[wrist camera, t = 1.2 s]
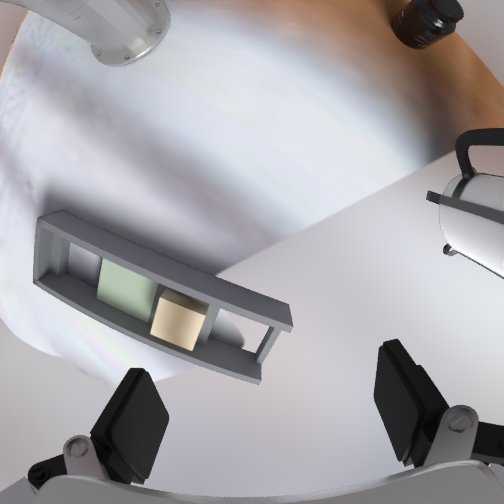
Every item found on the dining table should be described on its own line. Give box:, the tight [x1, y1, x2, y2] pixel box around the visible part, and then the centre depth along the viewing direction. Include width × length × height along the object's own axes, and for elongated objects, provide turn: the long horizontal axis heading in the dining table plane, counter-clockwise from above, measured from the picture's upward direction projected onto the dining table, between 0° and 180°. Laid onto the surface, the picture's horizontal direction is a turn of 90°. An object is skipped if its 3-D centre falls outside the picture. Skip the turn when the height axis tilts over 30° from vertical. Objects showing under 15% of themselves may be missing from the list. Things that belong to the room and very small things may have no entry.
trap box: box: [33, 210, 293, 385], centre depth 36 cm, size 38×11×6 cm, turn 68°
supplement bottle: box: [392, 0, 464, 49], centre depth 21 cm, size 7×7×12 cm
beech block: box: [150, 287, 210, 351], centre depth 35 cm, size 6×6×4 cm
